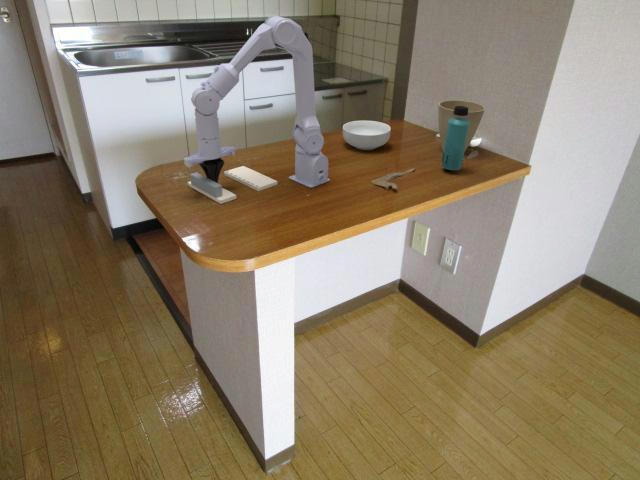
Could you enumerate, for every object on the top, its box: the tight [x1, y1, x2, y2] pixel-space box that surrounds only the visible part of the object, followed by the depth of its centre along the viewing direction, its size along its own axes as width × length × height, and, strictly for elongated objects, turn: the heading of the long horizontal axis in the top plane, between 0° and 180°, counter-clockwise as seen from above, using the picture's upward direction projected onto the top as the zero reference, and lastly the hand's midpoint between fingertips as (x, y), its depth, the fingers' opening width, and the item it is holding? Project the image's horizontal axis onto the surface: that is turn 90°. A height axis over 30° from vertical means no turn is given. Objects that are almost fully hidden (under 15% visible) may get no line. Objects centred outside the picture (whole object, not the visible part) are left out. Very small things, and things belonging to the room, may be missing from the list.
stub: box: [187, 171, 237, 205], centre depth 124 cm, size 16×5×4 cm, turn 45°
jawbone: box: [370, 167, 416, 191], centre depth 137 cm, size 9×20×2 cm, turn 154°
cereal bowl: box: [342, 120, 392, 151], centre depth 159 cm, size 17×17×7 cm
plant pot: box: [437, 99, 486, 153], centre depth 155 cm, size 15×15×16 cm
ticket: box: [223, 165, 278, 192], centre depth 133 cm, size 16×7×1 cm, turn 45°
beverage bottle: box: [440, 106, 470, 171], centre depth 138 cm, size 6×7×20 cm
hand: (213, 185), depth 124 cm, fingers closed
